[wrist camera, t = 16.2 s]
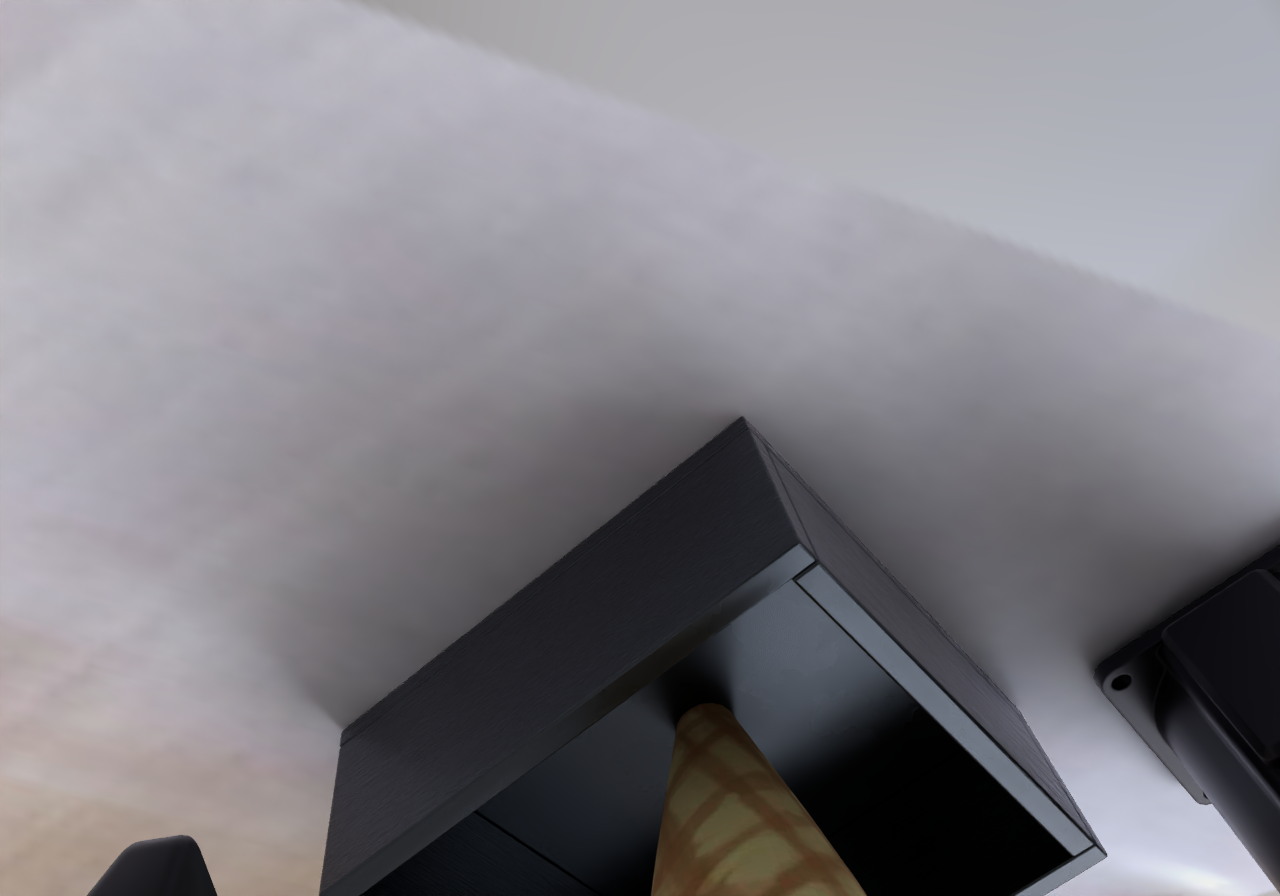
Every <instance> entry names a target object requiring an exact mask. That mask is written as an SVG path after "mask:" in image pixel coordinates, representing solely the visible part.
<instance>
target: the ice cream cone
mask: <svg viewBox="0 0 1280 896" xmlns="http://www.w3.org/2000/svg"><path fill="white" fill-rule="evenodd" d="M651 896H867V895H866V893H865V892H864V890H863V889H862V887H861V886H860V884H859V883H858V881H857V880H856V878H855V877H854V876H853V874H852V873H851V872H850V870H849V869H848V867H847V866H846V865H845V863H844V862H843V860H842V859H841V858H840V856H839V855H838V854H837V852H836V851H835V849H834V848H833V847H832V845H831V844H830V842H829V841H828V840H827V838H826V837H825V836H824V834H823V833H822V831H821V830H820V829H819V827H818V826H817V824H816V823H815V822H814V820H813V819H812V818H811V816H810V815H809V813H808V812H807V811H806V810H805V808H804V807H803V806H802V804H801V803H800V802H799V800H798V799H797V798H796V796H795V795H794V794H793V792H792V791H791V790H790V789H789V787H788V786H787V785H786V783H785V782H784V781H783V779H782V778H781V777H780V775H779V774H778V773H777V772H776V770H775V769H774V768H773V766H772V765H771V764H770V762H769V761H768V760H767V758H766V757H765V756H764V754H763V753H762V752H761V751H760V749H759V748H758V747H757V745H756V744H755V743H754V741H753V740H752V739H751V737H750V736H749V735H748V733H747V732H746V731H745V730H744V728H743V727H742V726H741V724H740V723H739V722H738V720H737V719H736V718H735V716H734V715H733V714H732V713H731V711H730V710H728V709H727V708H725V707H724V706H722V705H719V704H715V703H705V704H700V705H698V706H695V707H693V708H691V709H690V710H688V711H687V712H686V713H685V714H684V715H682V716H681V718H680V720H679V722H678V723H677V727H676V734H675V740H674V746H673V753H672V759H671V765H670V772H669V778H668V784H667V791H666V797H665V803H664V810H663V816H662V822H661V829H660V835H659V841H658V848H657V854H656V862H655V869H654V877H653V884H652V892H651Z"/></svg>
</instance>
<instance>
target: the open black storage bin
mask: <svg viewBox="0 0 1280 896" xmlns="http://www.w3.org/2000/svg"><path fill="white" fill-rule="evenodd" d="M705 703H715V704H719V705H722V706H724V707H725V708H727V709H728V710H730V711H731V713H732V714H733V715H734V716H735V718H736V719H737V720H738V722H739V723H740V724H741V726H742V727H743V728H744V730H745V731H746V732H747V733H748V735H749V736H750V737H751V739H752V740H753V741H754V743H755V744H756V745H757V747H758V748H759V749H760V751H761V752H762V753H763V754H764V756H765V757H766V758H767V760H768V761H769V762H770V764H771V765H772V766H773V768H774V769H775V770H776V772H777V773H778V774H779V775H780V777H781V778H782V779H783V781H784V782H785V783H786V785H787V786H788V787H789V789H790V790H791V791H792V792H793V794H794V795H795V796H796V798H797V799H798V800H799V802H800V803H801V804H802V806H803V807H804V808H805V810H806V811H807V812H808V813H809V815H810V816H811V818H812V819H813V820H814V822H815V823H816V824H817V826H818V827H819V829H820V830H821V831H822V833H823V834H824V836H825V837H826V838H827V840H828V841H829V842H830V844H831V845H832V847H833V848H834V849H835V851H836V852H837V854H838V855H839V856H840V858H841V859H842V860H843V862H844V863H845V865H846V866H847V867H848V869H849V870H850V872H851V873H852V874H853V876H854V877H855V878H856V880H857V881H858V883H859V884H860V886H861V887H862V889H863V890H864V892H865V893H866V895H867V896H1044V895H1046V894H1047V893H1049V892H1051V891H1052V890H1054V889H1055V888H1057V887H1059V886H1060V885H1062V884H1064V883H1065V882H1067V881H1069V880H1070V879H1072V878H1074V877H1075V876H1077V875H1078V874H1080V873H1082V872H1083V871H1085V870H1087V869H1088V868H1090V867H1092V866H1093V865H1095V864H1097V863H1098V862H1100V861H1101V860H1103V859H1105V858H1106V857H1107V853H1106V851H1105V850H1104V848H1103V846H1102V845H1101V843H1100V842H1099V840H1098V838H1097V837H1096V835H1095V833H1094V832H1093V830H1092V829H1091V827H1090V825H1089V824H1088V822H1087V820H1086V819H1085V817H1084V815H1083V814H1082V812H1081V811H1080V809H1079V807H1078V806H1077V804H1076V802H1075V801H1074V799H1073V798H1072V796H1071V794H1070V793H1069V791H1068V789H1067V788H1066V786H1065V785H1064V783H1063V781H1062V780H1061V778H1060V776H1059V775H1058V773H1057V771H1056V770H1055V768H1054V767H1053V765H1052V763H1051V762H1050V760H1049V758H1048V757H1047V755H1046V754H1045V752H1044V750H1043V749H1042V747H1041V745H1040V744H1039V742H1038V741H1037V739H1036V737H1035V736H1034V734H1033V732H1032V731H1031V729H1030V727H1029V726H1028V725H1027V722H1026V721H1025V719H1024V718H1023V716H1022V714H1021V713H1020V711H1019V710H1018V709H1017V708H1016V707H1015V706H1014V705H1013V704H1012V703H1011V702H1010V701H1009V700H1008V699H1007V697H1006V696H1005V695H1004V694H1003V693H1002V692H1001V691H1000V690H999V689H998V688H997V687H996V686H995V685H994V684H993V682H992V681H991V680H990V679H989V678H988V677H987V676H986V675H985V674H984V673H983V672H982V671H981V670H980V669H979V668H978V666H977V665H976V664H975V663H974V662H973V661H972V660H971V659H970V658H969V657H968V656H967V655H966V654H965V653H964V652H963V650H962V649H961V648H960V647H959V646H958V645H957V644H956V643H955V642H954V641H953V640H952V639H951V638H950V637H949V636H948V634H947V633H946V632H945V631H944V630H943V629H942V628H941V627H940V626H939V625H938V624H937V623H936V622H935V621H934V619H933V618H932V617H931V616H930V615H929V614H928V613H927V612H926V611H925V610H924V609H923V608H922V607H921V606H920V605H919V603H918V602H917V601H916V600H915V599H914V598H913V597H912V596H911V595H910V594H909V593H908V592H907V591H906V590H905V589H904V587H903V586H902V585H901V584H900V583H899V582H898V581H897V580H896V579H895V578H894V577H893V576H892V575H891V574H890V573H889V571H888V570H887V569H886V568H885V567H884V566H883V565H882V564H881V563H880V562H879V561H878V560H877V559H876V558H875V557H874V555H873V554H872V553H871V552H870V551H869V550H868V549H867V548H866V547H865V546H864V545H863V544H862V543H861V542H860V540H859V539H858V538H857V537H856V536H855V535H854V534H853V533H852V532H851V531H850V530H849V529H848V528H847V527H846V526H845V524H844V523H843V522H842V521H841V520H840V519H839V518H838V517H837V516H836V515H835V514H834V513H833V512H832V511H831V510H830V508H829V507H828V506H827V505H826V504H825V503H824V502H823V501H822V500H821V499H820V498H819V497H818V496H817V495H816V494H815V492H814V491H813V490H812V489H811V488H810V487H809V486H808V485H807V484H806V483H805V482H804V481H803V480H802V479H801V478H800V476H799V475H798V474H797V473H796V472H795V471H794V470H793V469H792V468H791V467H790V466H789V465H788V464H787V463H786V461H785V460H784V459H783V458H782V457H781V456H780V455H779V454H778V453H777V452H776V451H775V450H774V449H773V448H772V447H771V445H770V444H769V443H768V442H767V441H766V440H765V439H764V438H763V437H762V436H761V435H760V434H759V433H758V432H757V431H756V429H755V428H754V427H753V426H752V425H751V424H750V423H749V422H748V421H747V420H746V419H745V418H744V417H741V418H739V419H738V420H737V421H735V422H734V423H733V424H732V425H730V426H729V427H728V428H727V429H725V430H724V431H723V432H722V433H720V434H719V435H718V436H716V437H715V438H714V439H713V440H711V441H710V442H709V443H708V444H706V445H705V446H704V447H703V448H701V449H700V450H699V451H697V452H696V453H695V454H694V455H692V456H691V457H690V458H689V459H687V460H686V461H685V462H683V463H682V464H681V465H680V466H678V467H677V468H676V469H675V470H673V471H672V472H671V473H670V474H668V475H667V476H666V477H664V478H663V479H662V480H661V481H659V482H658V483H657V484H656V485H654V486H653V487H652V488H650V489H649V490H648V491H647V492H645V493H644V494H643V495H642V496H640V497H639V498H638V499H637V500H635V501H634V502H633V503H631V504H630V505H629V506H628V507H626V508H625V509H624V510H623V511H621V512H620V513H619V514H618V515H616V516H615V517H614V518H612V519H611V520H610V521H609V522H607V523H606V524H605V525H604V526H602V527H601V528H600V529H598V530H597V531H596V532H595V533H593V534H592V535H591V536H590V537H588V538H587V539H586V540H585V541H583V542H582V543H581V544H579V545H578V546H577V547H576V548H574V549H573V550H572V551H571V552H569V553H568V554H567V555H565V556H564V557H563V558H562V559H560V560H559V561H558V562H557V563H555V564H554V565H553V566H552V567H550V568H549V569H548V570H546V571H545V572H544V573H543V574H541V575H540V576H539V577H538V578H536V579H535V580H534V581H532V582H531V583H530V584H529V585H527V586H526V587H525V588H524V589H522V590H521V591H520V592H519V593H517V594H516V595H515V596H513V597H512V598H511V599H510V600H508V601H507V602H506V603H505V604H503V605H502V606H501V607H500V608H498V609H497V610H496V611H494V612H493V613H492V614H491V615H489V616H488V617H487V618H486V619H484V620H483V621H482V622H480V623H479V624H478V625H477V626H475V627H474V628H473V629H472V630H470V631H469V632H468V633H467V634H465V635H464V636H463V637H461V638H460V639H459V640H458V641H456V642H455V643H454V644H453V645H451V646H450V647H449V648H447V649H446V650H445V651H444V652H442V653H441V654H440V655H439V656H437V657H436V658H435V659H434V660H432V661H431V662H430V663H428V664H427V665H426V666H425V667H423V668H422V669H421V670H420V671H418V672H417V673H416V674H415V675H413V676H412V677H411V678H409V679H408V680H407V681H406V682H404V683H403V684H402V685H401V686H399V687H398V688H397V689H395V690H394V691H393V692H392V693H390V694H389V695H388V696H387V697H385V698H384V699H383V700H382V701H380V702H379V703H378V704H376V705H375V706H374V707H373V708H371V709H370V710H369V711H368V712H366V713H365V714H364V715H362V716H361V717H360V718H359V719H357V720H356V721H355V722H354V723H352V724H351V725H350V726H349V727H347V728H346V729H345V730H343V731H342V734H341V741H340V747H341V748H340V751H339V758H338V765H337V772H336V779H335V786H334V793H333V800H332V807H331V814H330V821H329V828H328V835H327V842H326V849H325V856H324V863H323V870H322V877H321V884H320V891H319V896H651V892H652V884H653V877H654V869H655V862H656V854H657V848H658V841H659V835H660V829H661V822H662V816H663V810H664V803H665V797H666V791H667V784H668V778H669V772H670V765H671V759H672V753H673V746H674V740H675V734H676V727H677V723H678V722H679V720H680V718H681V716H682V715H684V714H685V713H686V712H687V711H688V710H690V709H691V708H693V707H695V706H698V705H700V704H705Z"/></svg>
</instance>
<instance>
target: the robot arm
mask: <svg viewBox="0 0 1280 896" xmlns="http://www.w3.org/2000/svg"><path fill="white" fill-rule="evenodd" d="M1116 677H1117V678H1116ZM1094 680H1095V682H1096V684H1097V685H1098V687H1099V688H1100V689H1101V691H1102V692H1103V693H1104V695H1105V696H1106V697H1107V698H1108V699H1109V701H1110V702H1111V703H1112V704H1113V705H1114V706H1115V708H1116V709H1117V710H1118V711H1119V712H1120V713H1121V715H1122V716H1123V717H1124V718H1125V719H1126V720H1127V722H1128V723H1129V724H1130V725H1131V726H1132V727H1133V729H1134V730H1135V731H1136V732H1137V733H1138V734H1139V736H1140V737H1141V738H1142V739H1143V740H1144V741H1145V743H1146V744H1147V745H1148V746H1149V747H1150V748H1151V750H1152V751H1153V752H1154V753H1155V754H1156V755H1157V757H1158V758H1159V759H1160V760H1161V761H1162V762H1163V764H1164V765H1165V766H1166V767H1167V768H1168V769H1169V771H1170V772H1171V773H1172V774H1173V775H1174V776H1175V778H1176V779H1177V780H1178V781H1179V782H1180V783H1181V785H1182V786H1183V787H1184V788H1185V789H1186V790H1187V792H1188V793H1189V794H1190V795H1191V796H1192V797H1193V799H1194V800H1195V801H1196V802H1198V803H1199V804H1204V805H1208V804H1213V805H1214V807H1215V808H1216V809H1217V811H1218V812H1219V813H1220V815H1221V816H1222V817H1223V819H1224V820H1225V821H1226V823H1227V824H1228V825H1229V827H1230V828H1231V829H1232V831H1233V832H1234V833H1235V835H1236V836H1237V837H1238V839H1239V840H1240V841H1241V843H1242V844H1243V845H1244V847H1245V848H1246V849H1247V850H1248V852H1249V853H1250V854H1251V856H1252V857H1253V858H1254V860H1255V861H1256V862H1257V864H1258V865H1259V866H1260V868H1261V869H1262V870H1263V872H1264V873H1265V874H1266V876H1267V877H1268V878H1269V880H1270V881H1271V882H1272V884H1273V885H1274V886H1275V888H1276V889H1277V890H1278V892H1279V893H1280V545H1279V546H1278V547H1276V548H1275V549H1273V550H1272V551H1270V552H1269V553H1267V554H1266V555H1264V556H1263V557H1261V558H1260V559H1258V560H1256V561H1255V562H1253V563H1252V564H1250V565H1249V566H1247V567H1246V568H1244V569H1243V570H1241V571H1240V572H1238V573H1237V574H1235V575H1234V576H1232V577H1231V578H1229V579H1228V580H1226V581H1225V582H1223V583H1222V584H1220V585H1218V586H1217V587H1215V588H1214V589H1212V590H1211V591H1209V592H1208V593H1206V594H1205V595H1203V596H1202V597H1200V598H1199V599H1197V600H1196V601H1194V602H1193V603H1191V604H1190V605H1188V606H1187V607H1185V608H1183V609H1182V610H1180V611H1179V612H1177V613H1176V614H1174V615H1173V616H1171V617H1170V618H1168V619H1167V620H1165V621H1164V622H1162V623H1161V624H1159V625H1158V626H1156V627H1155V628H1153V629H1152V630H1150V631H1148V632H1147V633H1145V634H1144V635H1142V636H1141V637H1139V638H1138V639H1136V640H1135V641H1133V642H1132V643H1130V644H1129V645H1127V646H1126V647H1124V648H1123V649H1121V650H1120V651H1118V652H1117V653H1115V654H1113V655H1112V656H1110V657H1109V658H1107V659H1106V660H1104V661H1103V662H1102V663H1101V664H1100V665H1099V666H1098V667H1097V669H1096V670H1095V672H1094ZM87 896H217V893H216V891H215V888H214V885H213V883H212V880H211V878H210V875H209V872H208V870H207V867H206V864H205V862H204V859H203V856H202V854H201V851H200V849H199V847H198V845H197V843H196V841H195V840H194V839H193V838H192V837H190V836H185V835H178V836H172V837H165V838H158V839H152V840H145V841H140V842H136V843H134V844H132V845H130V846H129V847H128V848H126V849H125V850H124V851H123V852H122V853H121V854H120V855H119V856H118V858H117V859H116V860H115V861H114V863H113V864H112V865H111V866H110V868H109V869H108V870H107V871H106V873H105V874H104V875H103V876H102V877H101V879H100V880H99V881H98V882H97V884H96V885H95V886H94V887H93V889H92V890H91V891H90V892H89V894H88V895H87Z"/></svg>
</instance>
